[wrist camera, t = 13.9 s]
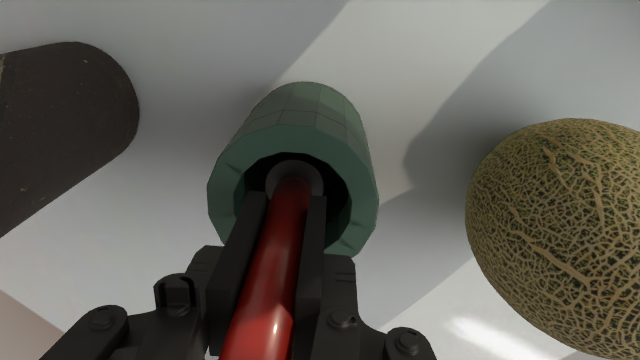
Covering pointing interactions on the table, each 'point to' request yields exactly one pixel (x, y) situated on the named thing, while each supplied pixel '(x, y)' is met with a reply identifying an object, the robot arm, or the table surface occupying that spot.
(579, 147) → the fruit
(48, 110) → the container
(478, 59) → the table surface
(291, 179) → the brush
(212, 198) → the green hollow cylinder
